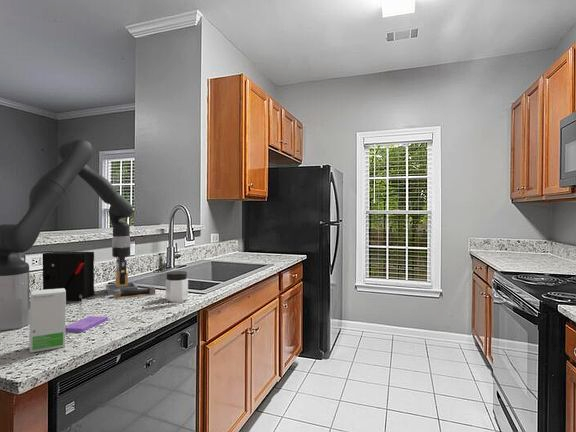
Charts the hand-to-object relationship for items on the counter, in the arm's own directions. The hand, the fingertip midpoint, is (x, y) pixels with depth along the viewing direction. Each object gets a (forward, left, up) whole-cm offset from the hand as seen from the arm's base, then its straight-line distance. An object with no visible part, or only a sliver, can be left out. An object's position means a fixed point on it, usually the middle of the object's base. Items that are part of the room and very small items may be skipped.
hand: (121, 282), depth 161 cm
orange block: (0, 0, -1) cm, 1 cm away
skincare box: (-58, +25, -5) cm, 64 cm away
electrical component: (0, +20, -5) cm, 21 cm away
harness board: (-11, -4, -5) cm, 13 cm away
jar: (-27, -18, -5) cm, 33 cm away
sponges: (-43, +15, -5) cm, 46 cm away
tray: (0, 0, -5) cm, 5 cm away
